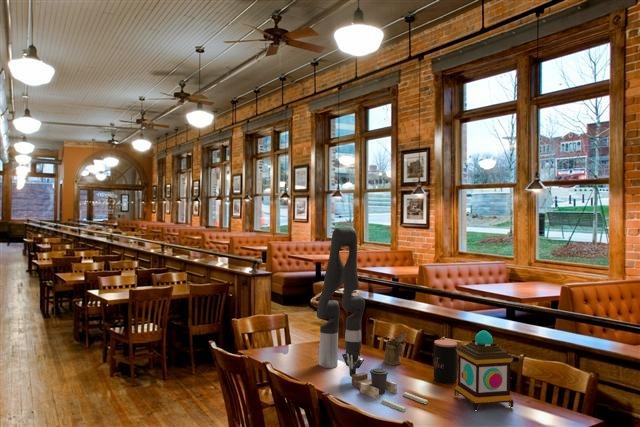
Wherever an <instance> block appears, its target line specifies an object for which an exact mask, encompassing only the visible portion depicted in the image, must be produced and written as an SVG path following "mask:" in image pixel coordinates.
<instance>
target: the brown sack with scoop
mask: <svg viewBox="0 0 640 427" xmlns="http://www.w3.org/2000/svg"><path fill="white" fill-rule="evenodd" d="M406 337H407V332H405V331H403V332H402V333H400V334H399V335H398V336H397V337H396V339H395V340H393V339H392V340H391V339H390V340H387V341H386V343H385V351H384V357H383V364H384V365H388V366H399V365H401V364H402V359H401V354H402V351H403V345H402V342H403V341H404V340H405V339H406Z"/></svg>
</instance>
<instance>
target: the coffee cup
mask: <svg viewBox="0 0 640 427" xmlns="http://www.w3.org/2000/svg"><path fill="white" fill-rule="evenodd" d="M369 373H370V378H371V379H370V380H371V381H372V386H373V387H375V388H378V389H379V396H381V395H382V396H383V395H385V394H386V390H385V388H386V380H388V375H389V371H388V370H387V369H384V368H381V367H380V368H377V367H376V368H373V369H370V370H369Z"/></svg>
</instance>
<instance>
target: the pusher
mask: <svg viewBox="0 0 640 427" xmlns="http://www.w3.org/2000/svg"><path fill="white" fill-rule="evenodd" d="M368 375H369V374H368V373H367V372H363V371H362V372H356V374H353V375H352V377H351V386H353V387H356V388H358V389H360V386H361V383H365V384H368V385H370V386H372V381H371V379H370V378H368Z"/></svg>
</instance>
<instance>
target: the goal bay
mask: <svg viewBox="0 0 640 427" xmlns="http://www.w3.org/2000/svg"><path fill="white" fill-rule="evenodd" d="M402 396H403V397H406V398H409V399H410V400H413V401H416V402H419V403H421V404H423V403H424V404H423V405H427V403H429V401H428V399H425V398H423V397H420V396H417V395H414V394H412V393H410V392H406V391H405V392H403V393H402ZM381 403H382V404H384V405H386V406H389V407H391V408H392V409H393V408H394V409H396V410H399V411H401V412H402V413H403V412H407V407H406V406H403V405H401V404H399V403H398V404H397V403H395V402H393V401H390V400H388V399H385V398H382V399H381Z"/></svg>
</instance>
